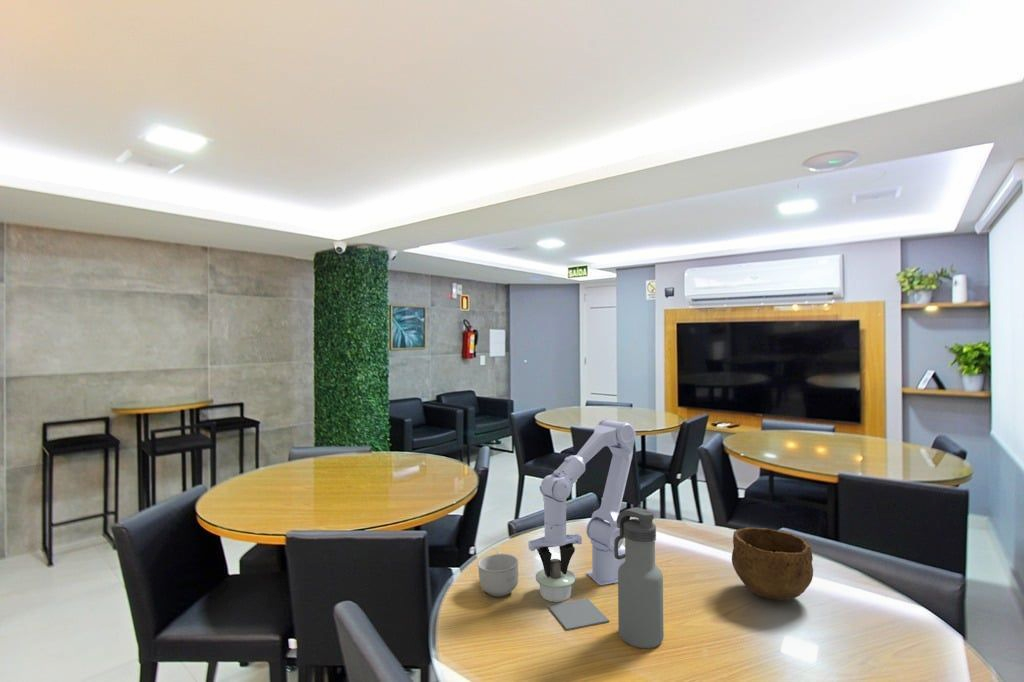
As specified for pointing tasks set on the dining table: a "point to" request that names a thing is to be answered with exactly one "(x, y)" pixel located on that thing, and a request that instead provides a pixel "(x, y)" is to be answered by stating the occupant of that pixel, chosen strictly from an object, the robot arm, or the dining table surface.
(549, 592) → the ramekin
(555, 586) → the lid
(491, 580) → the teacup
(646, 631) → the water bottle
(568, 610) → the mat
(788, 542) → the bowl
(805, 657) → the dining table surface
